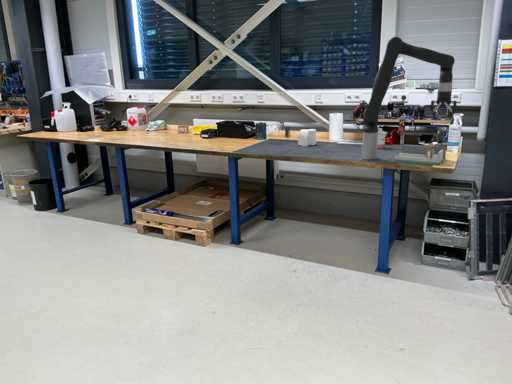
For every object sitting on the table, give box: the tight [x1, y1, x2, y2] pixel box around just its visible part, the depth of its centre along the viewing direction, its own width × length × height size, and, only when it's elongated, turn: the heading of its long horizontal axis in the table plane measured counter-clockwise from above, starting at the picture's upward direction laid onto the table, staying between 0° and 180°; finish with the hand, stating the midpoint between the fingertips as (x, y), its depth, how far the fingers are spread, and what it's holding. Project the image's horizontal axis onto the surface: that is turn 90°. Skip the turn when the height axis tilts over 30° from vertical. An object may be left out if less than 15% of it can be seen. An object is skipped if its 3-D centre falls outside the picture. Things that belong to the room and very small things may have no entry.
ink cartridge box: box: [377, 127, 386, 149], centre depth 300 cm, size 9×5×15 cm, turn 47°
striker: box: [425, 130, 455, 158], centre depth 246 cm, size 13×15×16 cm
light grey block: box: [297, 128, 317, 147], centre depth 323 cm, size 11×11×12 cm
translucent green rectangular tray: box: [393, 144, 447, 166], centre depth 253 cm, size 26×19×8 cm
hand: (442, 118), depth 247 cm, fingers open, 8 cm apart
